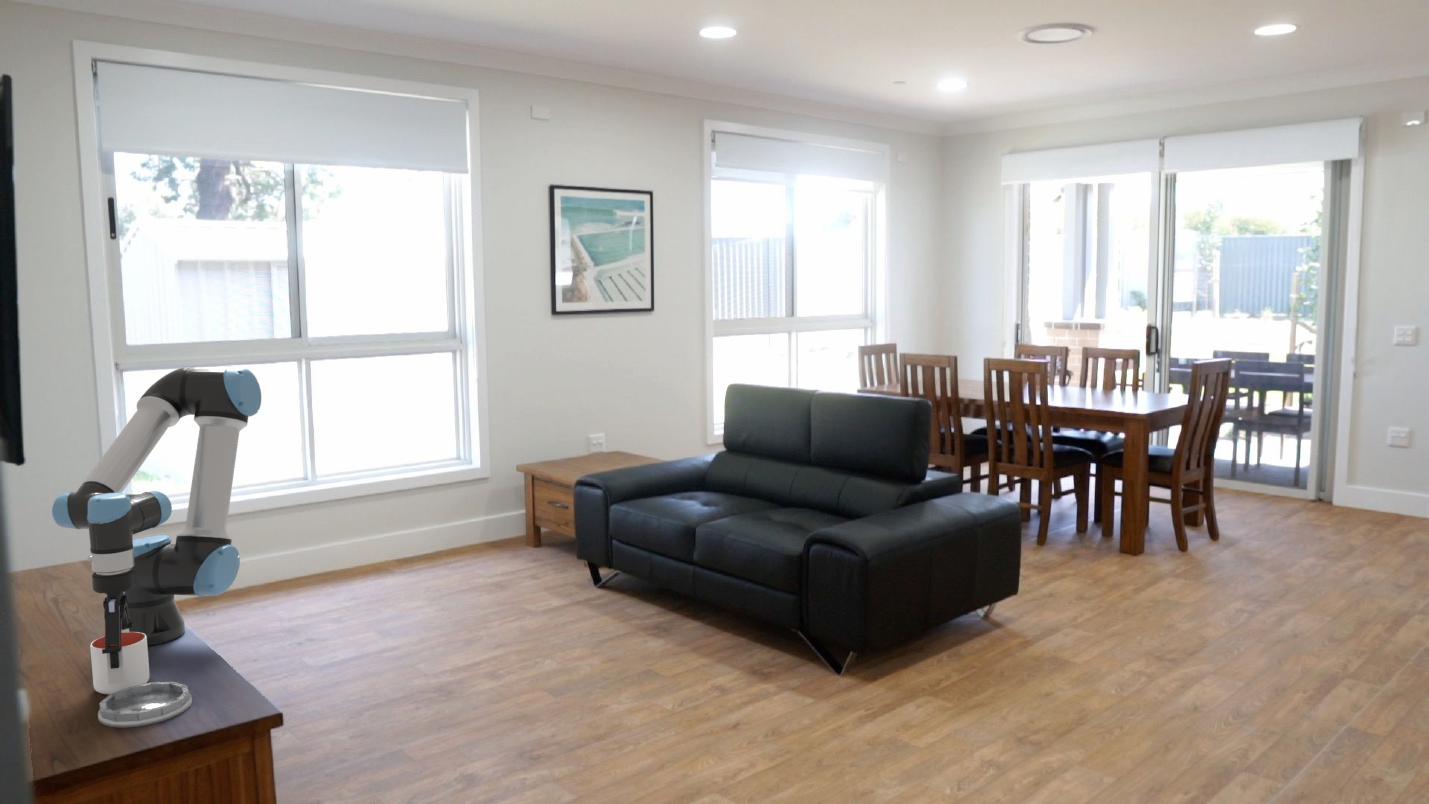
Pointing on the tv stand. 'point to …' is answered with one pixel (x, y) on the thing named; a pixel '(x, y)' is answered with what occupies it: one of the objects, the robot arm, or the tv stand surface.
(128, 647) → the cup
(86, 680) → the tv stand surface
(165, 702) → the faceted steel dish
